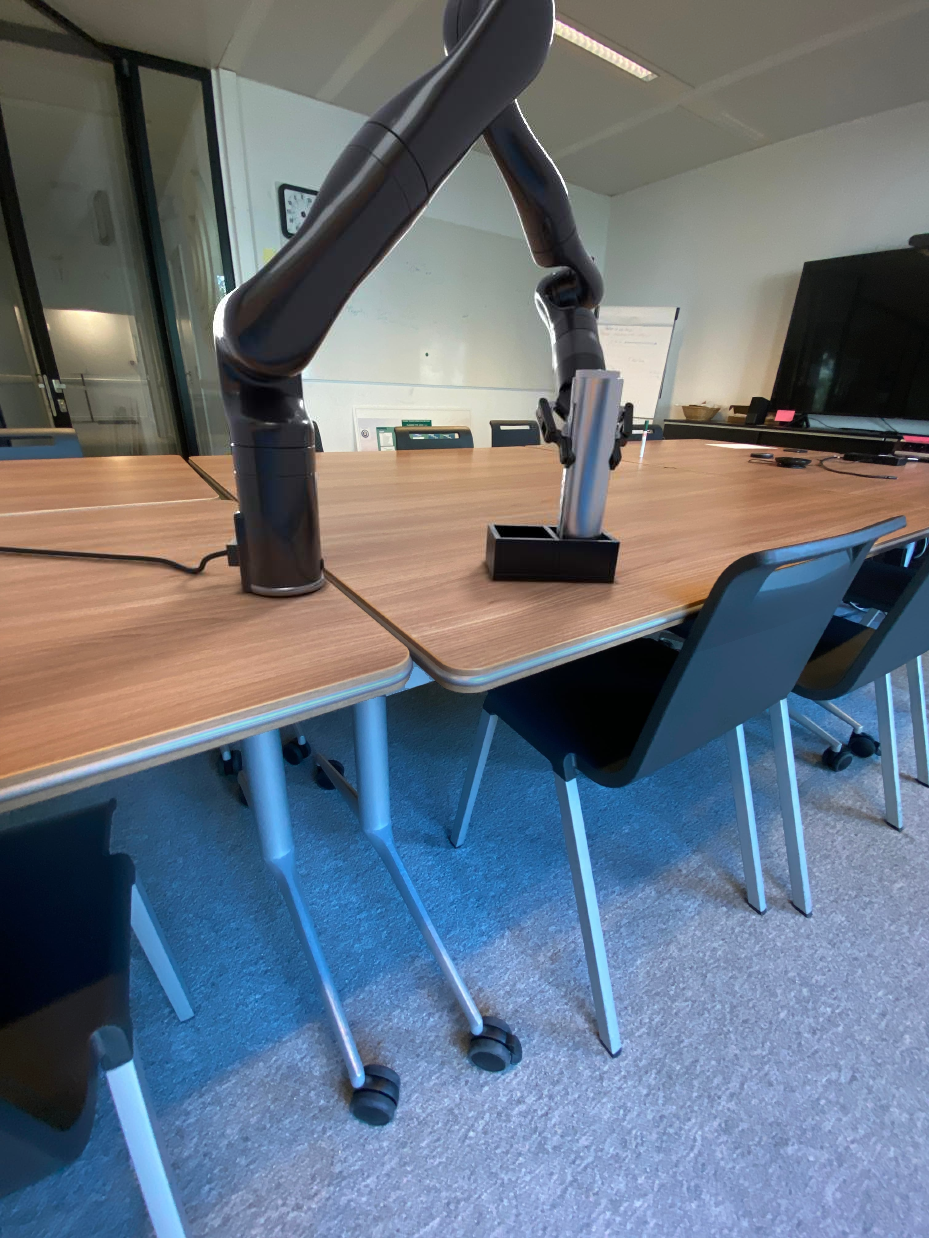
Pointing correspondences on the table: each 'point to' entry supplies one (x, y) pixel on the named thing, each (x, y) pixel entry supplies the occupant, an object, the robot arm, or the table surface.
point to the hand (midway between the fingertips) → (591, 465)
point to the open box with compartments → (548, 555)
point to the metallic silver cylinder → (589, 453)
